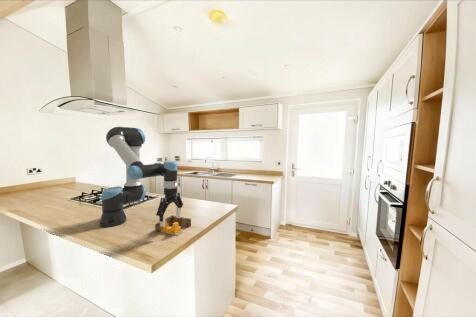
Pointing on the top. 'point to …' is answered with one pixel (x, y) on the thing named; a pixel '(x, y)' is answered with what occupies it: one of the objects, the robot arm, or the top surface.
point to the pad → (172, 234)
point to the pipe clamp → (171, 228)
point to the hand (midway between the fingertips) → (170, 221)
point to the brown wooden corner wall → (172, 220)
